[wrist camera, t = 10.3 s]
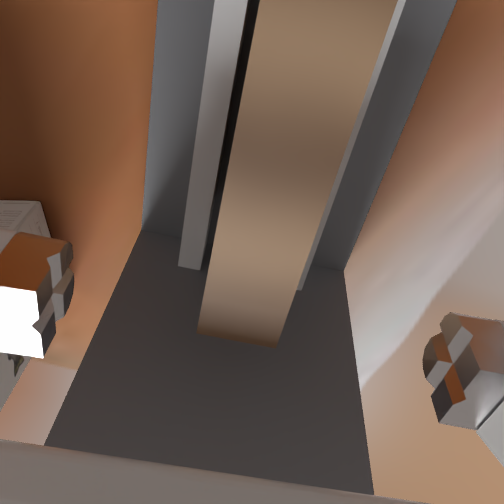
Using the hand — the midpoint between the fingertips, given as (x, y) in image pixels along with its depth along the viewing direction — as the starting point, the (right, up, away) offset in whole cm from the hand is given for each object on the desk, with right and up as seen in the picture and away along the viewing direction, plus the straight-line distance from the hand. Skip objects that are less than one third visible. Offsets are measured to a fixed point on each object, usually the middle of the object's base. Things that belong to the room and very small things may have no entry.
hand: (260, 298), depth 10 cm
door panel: (+1, +8, +12) cm, 14 cm away
